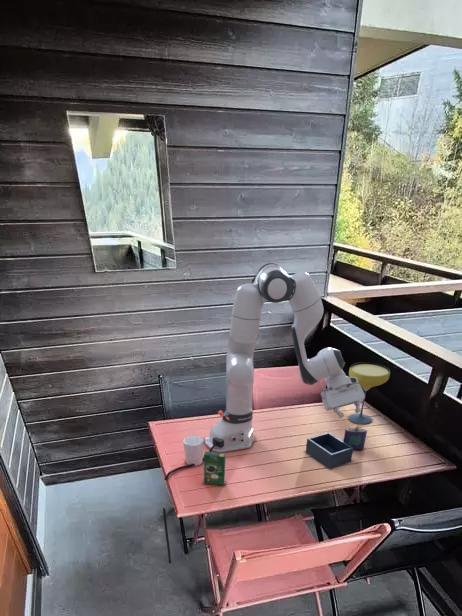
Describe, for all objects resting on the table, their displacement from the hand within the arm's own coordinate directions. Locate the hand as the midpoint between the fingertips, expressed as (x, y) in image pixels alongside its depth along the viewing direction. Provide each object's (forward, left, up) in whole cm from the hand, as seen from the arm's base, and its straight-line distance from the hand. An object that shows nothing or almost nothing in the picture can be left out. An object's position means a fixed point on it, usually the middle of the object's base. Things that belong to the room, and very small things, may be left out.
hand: (350, 414), depth 187 cm
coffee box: (-65, +1, -14) cm, 67 cm away
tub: (-14, -5, -14) cm, 20 cm away
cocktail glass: (+23, +15, -14) cm, 31 cm away
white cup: (-65, +19, -14) cm, 69 cm away
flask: (0, -5, -14) cm, 15 cm away
